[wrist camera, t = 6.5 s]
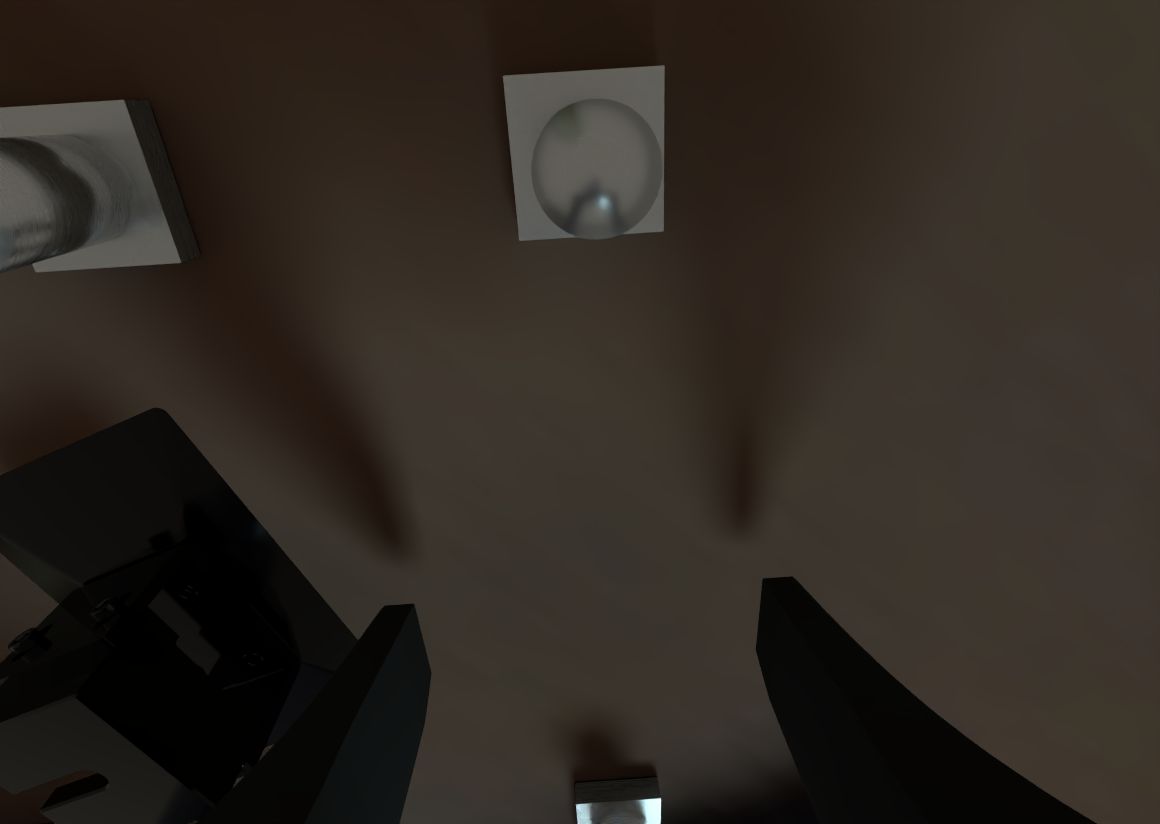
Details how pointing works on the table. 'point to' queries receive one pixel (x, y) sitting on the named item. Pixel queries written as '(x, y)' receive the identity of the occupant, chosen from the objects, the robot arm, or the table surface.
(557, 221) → the guide pins
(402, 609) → the robot arm
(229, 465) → the table surface
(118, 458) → the black boxy piece
